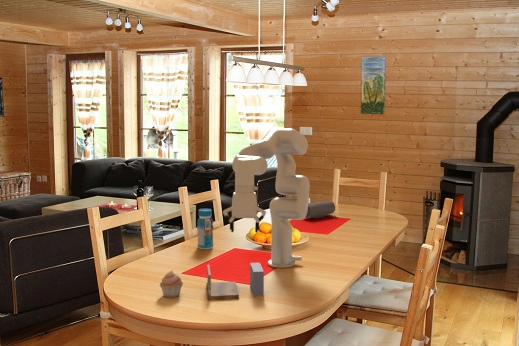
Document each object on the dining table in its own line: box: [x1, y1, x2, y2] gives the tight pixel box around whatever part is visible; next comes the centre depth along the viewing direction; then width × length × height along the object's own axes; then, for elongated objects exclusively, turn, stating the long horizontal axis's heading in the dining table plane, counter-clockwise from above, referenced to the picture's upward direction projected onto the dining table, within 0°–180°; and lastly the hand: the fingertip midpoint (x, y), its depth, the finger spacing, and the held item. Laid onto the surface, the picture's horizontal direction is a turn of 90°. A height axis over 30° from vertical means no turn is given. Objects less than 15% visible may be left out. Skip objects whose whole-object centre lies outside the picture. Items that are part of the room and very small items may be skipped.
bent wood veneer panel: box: [205, 264, 240, 301], centre depth 232 cm, size 12×16×10 cm
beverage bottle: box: [196, 208, 214, 250], centre depth 298 cm, size 8×8×20 cm
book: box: [249, 262, 265, 297], centre depth 234 cm, size 4×12×10 cm, turn 7°
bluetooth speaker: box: [305, 200, 336, 220], centre depth 374 cm, size 23×9×10 cm, turn 130°
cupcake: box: [159, 270, 184, 299], centre depth 228 cm, size 9×9×10 cm
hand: (244, 231), depth 232 cm, fingers open, 9 cm apart
